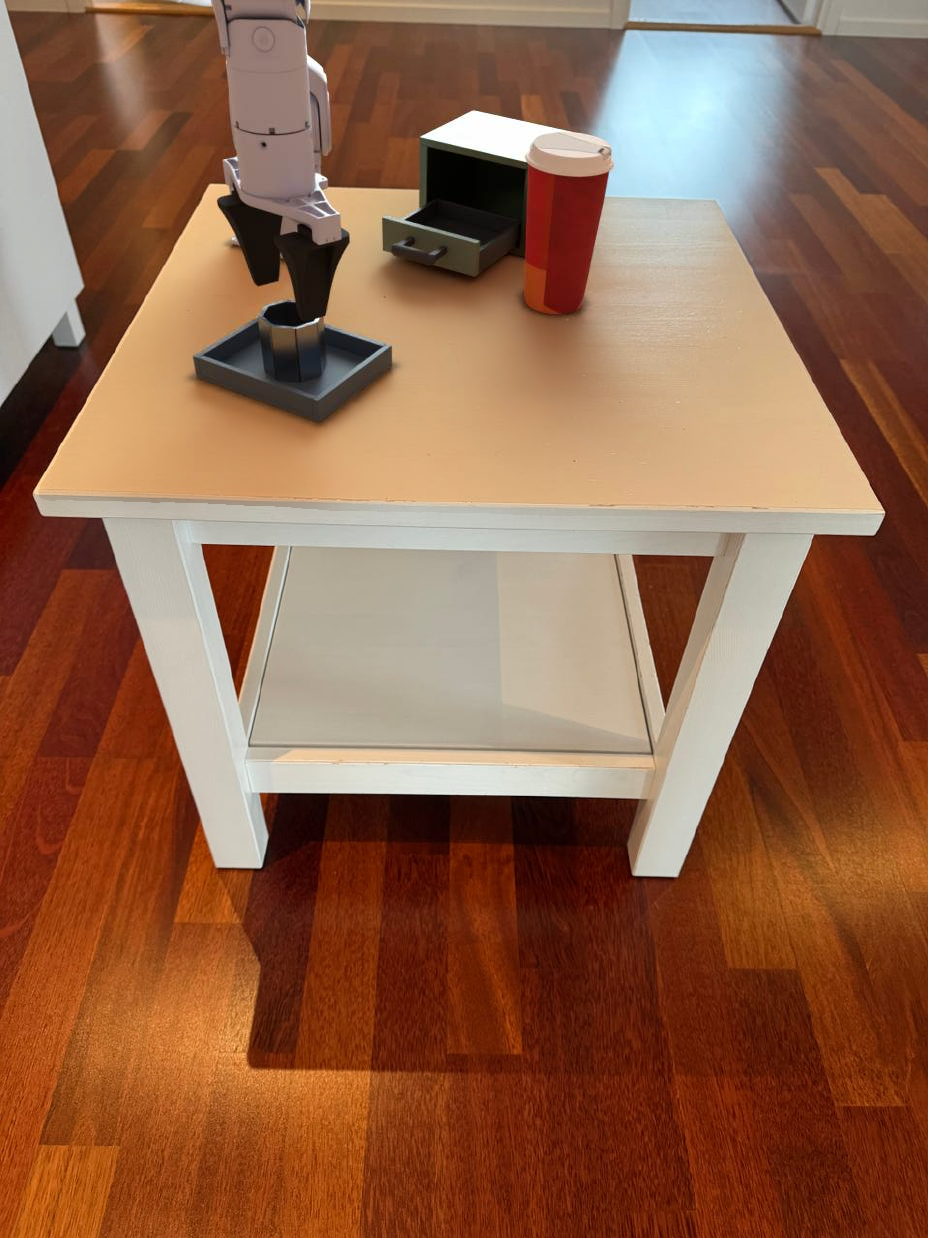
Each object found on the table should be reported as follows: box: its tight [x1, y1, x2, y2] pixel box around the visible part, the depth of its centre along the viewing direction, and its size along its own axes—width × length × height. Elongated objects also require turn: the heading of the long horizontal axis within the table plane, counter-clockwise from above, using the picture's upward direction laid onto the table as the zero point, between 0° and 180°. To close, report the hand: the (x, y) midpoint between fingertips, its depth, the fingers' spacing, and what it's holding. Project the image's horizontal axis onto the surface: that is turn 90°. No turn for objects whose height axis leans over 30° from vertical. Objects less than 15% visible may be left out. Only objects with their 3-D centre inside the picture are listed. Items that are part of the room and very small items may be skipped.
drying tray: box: [192, 316, 393, 423], centre depth 81 cm, size 13×11×2 cm
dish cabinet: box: [418, 110, 571, 258], centre depth 104 cm, size 14×12×10 cm
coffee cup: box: [523, 131, 615, 315], centre depth 89 cm, size 8×8×15 cm
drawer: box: [381, 198, 522, 277], centre depth 98 cm, size 11×15×4 cm
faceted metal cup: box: [257, 299, 327, 383], centre depth 80 cm, size 5×5×5 cm
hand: (289, 299), depth 77 cm, fingers open, 7 cm apart
